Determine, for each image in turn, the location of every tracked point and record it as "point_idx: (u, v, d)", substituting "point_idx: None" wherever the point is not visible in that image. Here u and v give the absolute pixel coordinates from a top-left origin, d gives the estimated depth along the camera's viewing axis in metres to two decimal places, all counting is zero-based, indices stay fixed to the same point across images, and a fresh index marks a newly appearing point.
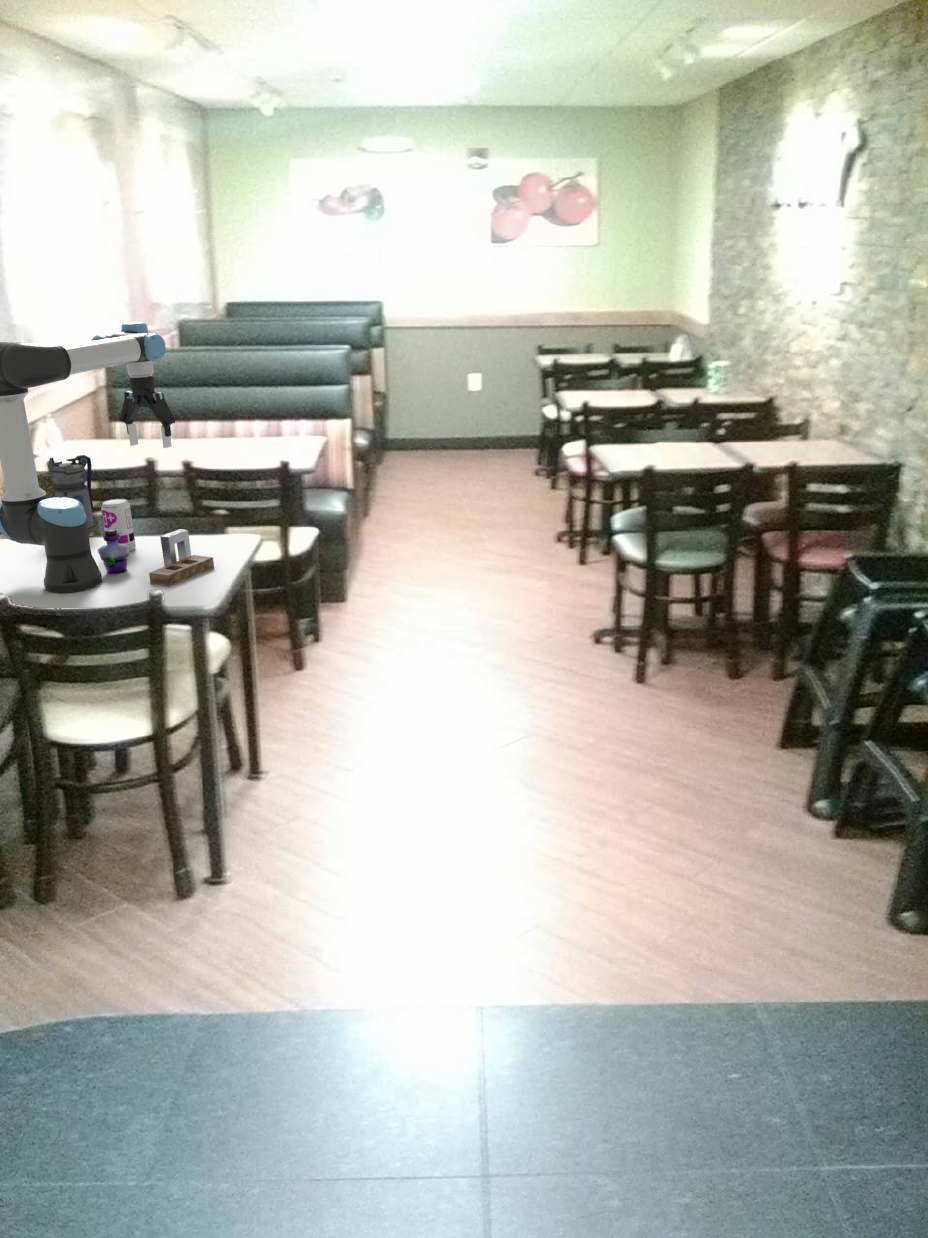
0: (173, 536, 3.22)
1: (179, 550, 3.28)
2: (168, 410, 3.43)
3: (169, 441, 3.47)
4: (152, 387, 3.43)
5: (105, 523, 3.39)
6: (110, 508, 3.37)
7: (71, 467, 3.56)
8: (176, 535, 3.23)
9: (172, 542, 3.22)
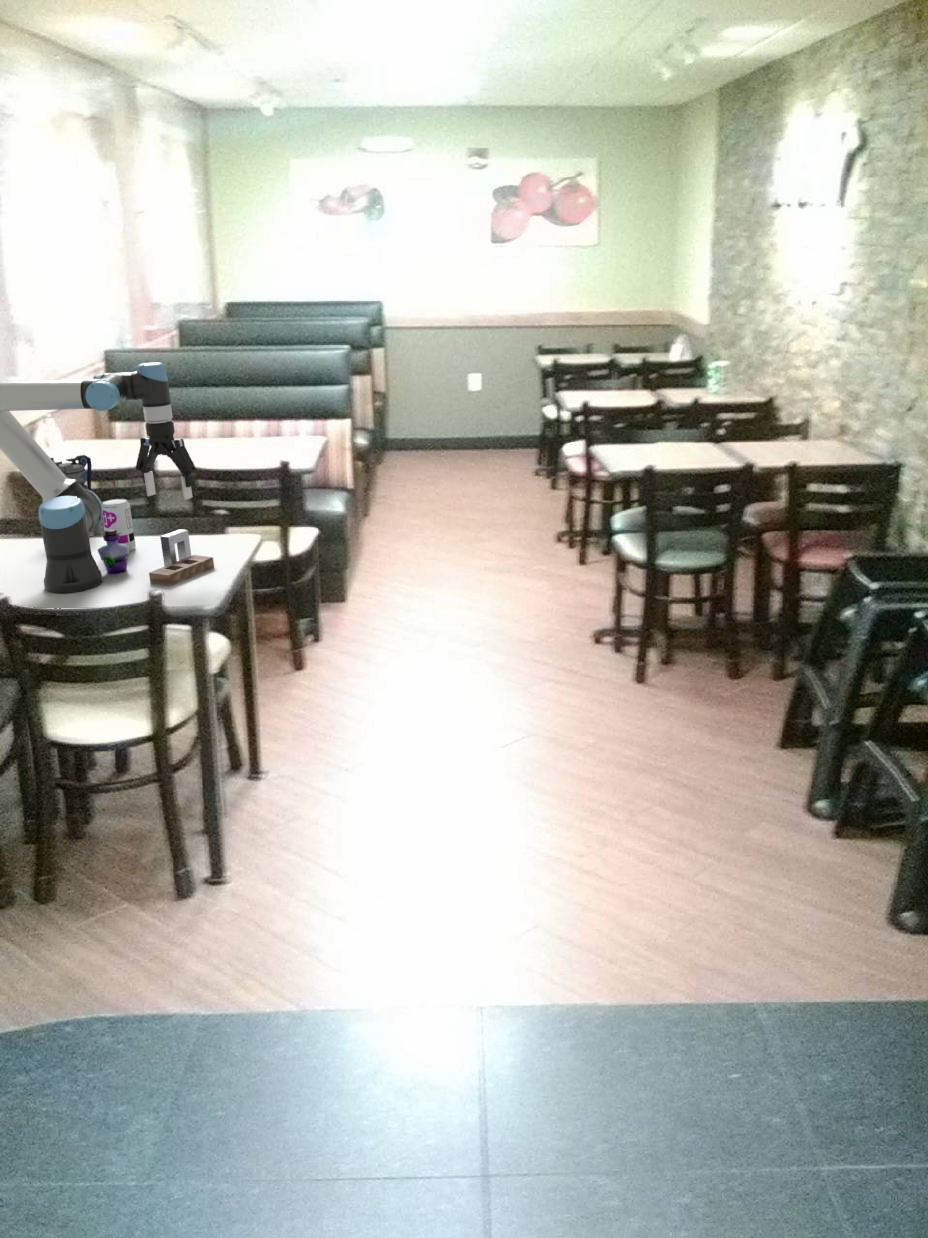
0: (173, 536, 3.22)
1: (179, 550, 3.28)
2: (189, 458, 3.13)
3: (190, 492, 3.17)
4: (171, 433, 3.13)
5: (105, 523, 3.39)
6: (110, 508, 3.37)
7: (71, 467, 3.56)
8: (176, 535, 3.23)
9: (172, 542, 3.22)
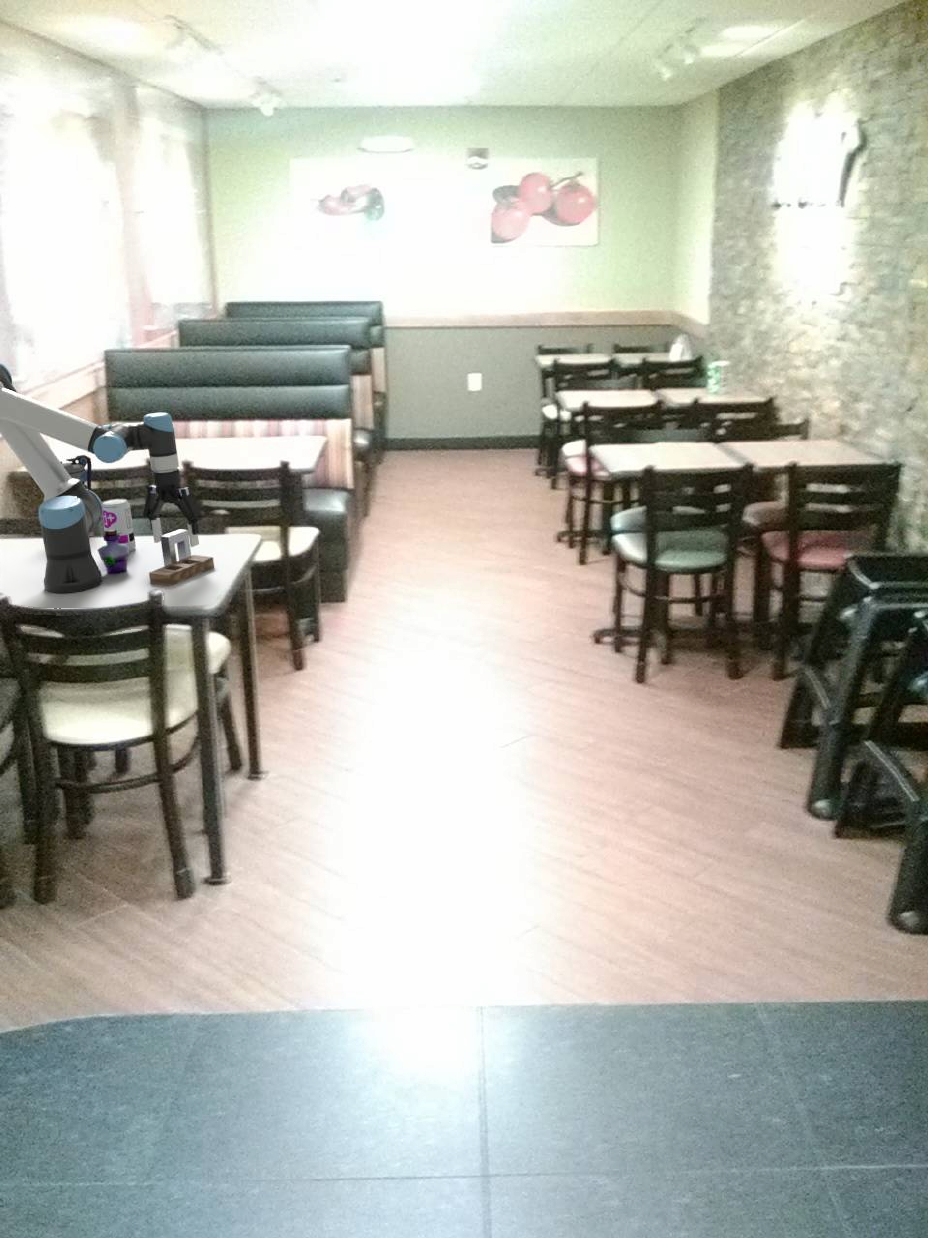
0: (173, 536, 3.22)
1: (179, 550, 3.28)
2: (195, 507, 3.18)
3: (196, 539, 3.21)
4: (177, 482, 3.17)
5: (105, 523, 3.39)
6: (110, 508, 3.37)
7: (71, 467, 3.56)
8: (176, 535, 3.23)
9: (172, 542, 3.22)
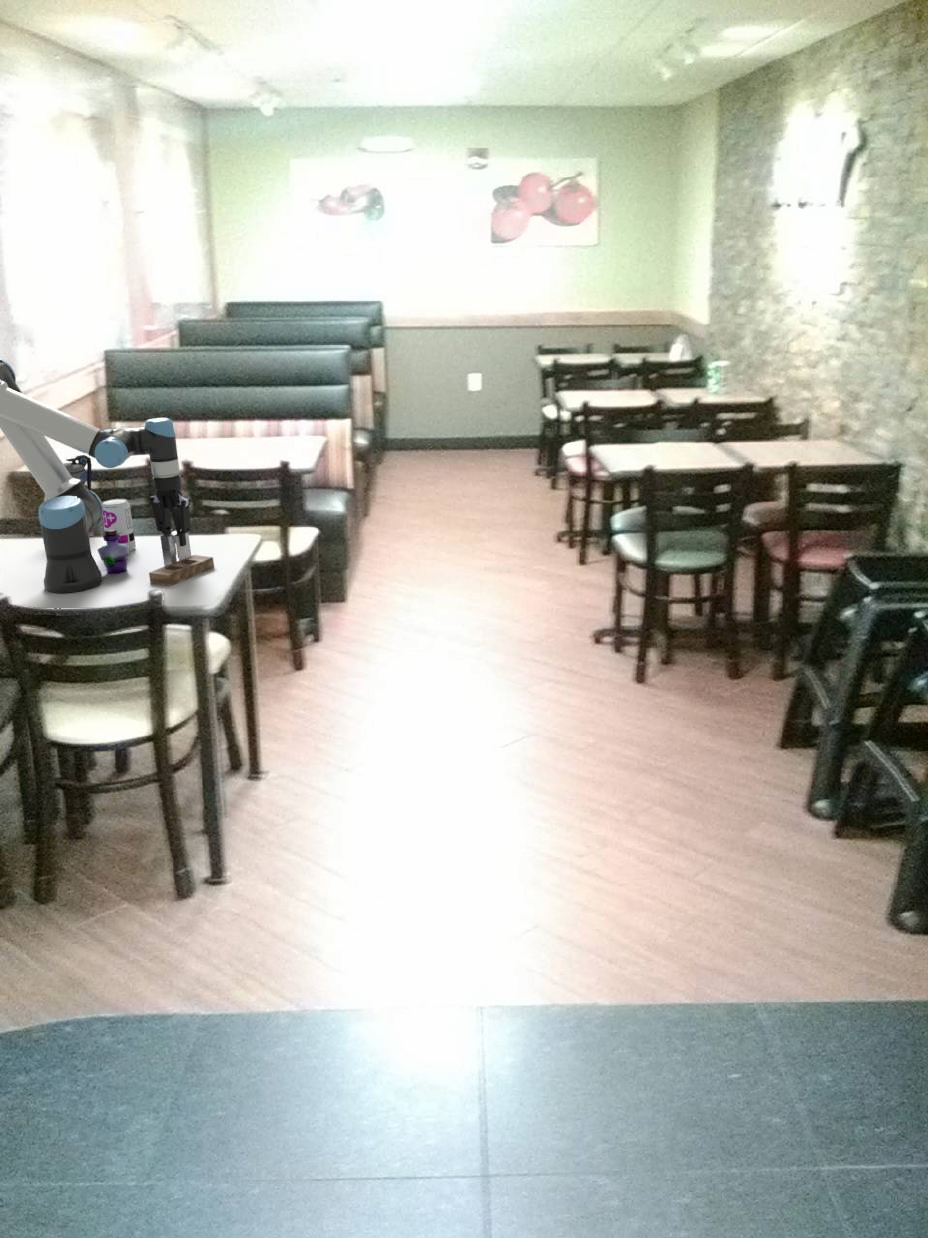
0: (173, 536, 3.22)
1: None
2: (188, 519, 3.20)
3: (184, 550, 3.25)
4: (178, 487, 3.18)
5: (105, 523, 3.39)
6: (110, 508, 3.37)
7: (71, 467, 3.56)
8: None
9: (172, 542, 3.22)
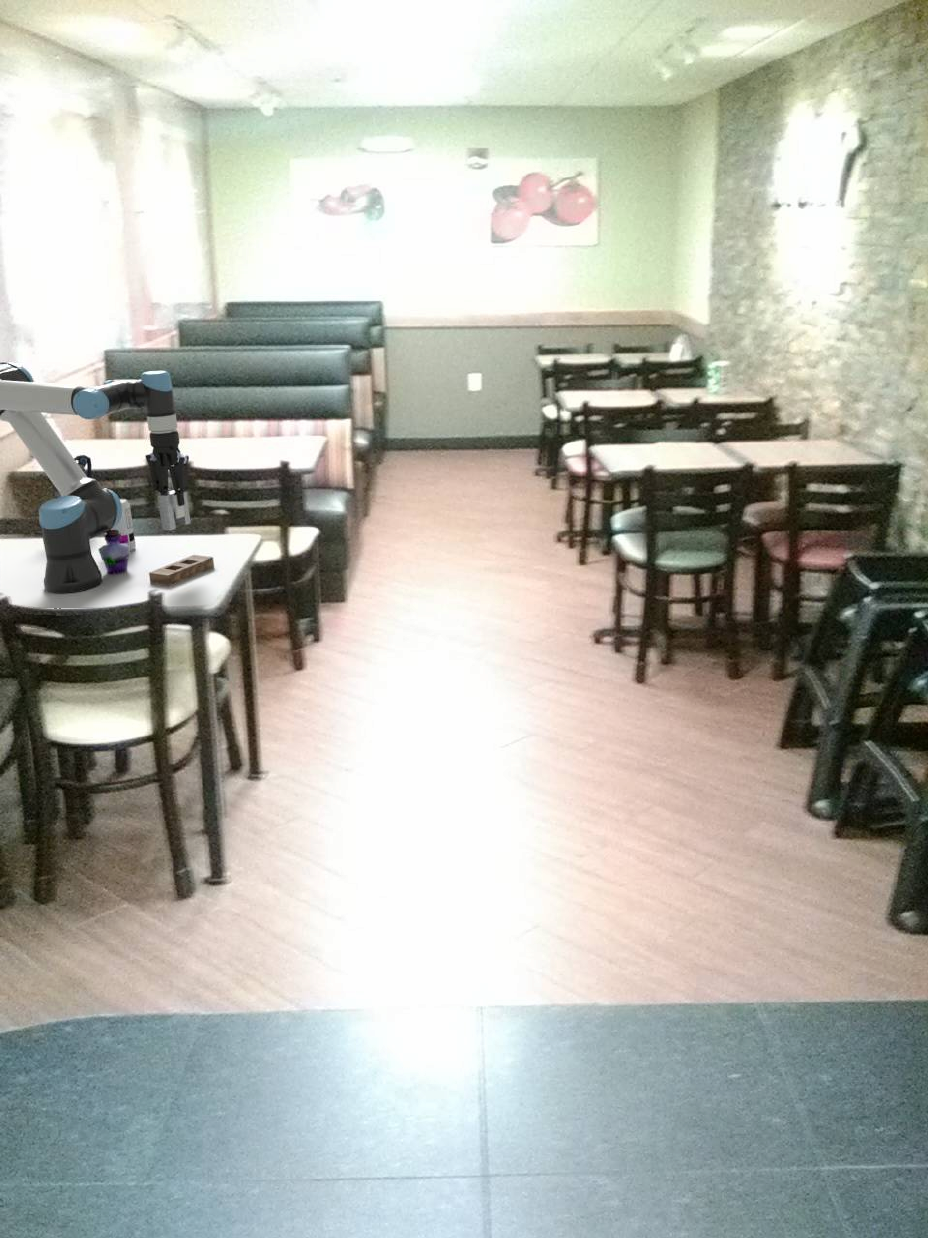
0: (171, 495, 3.08)
1: None
2: (186, 477, 3.07)
3: (182, 510, 3.12)
4: (176, 444, 3.04)
5: None
6: None
7: None
8: None
9: (170, 501, 3.08)
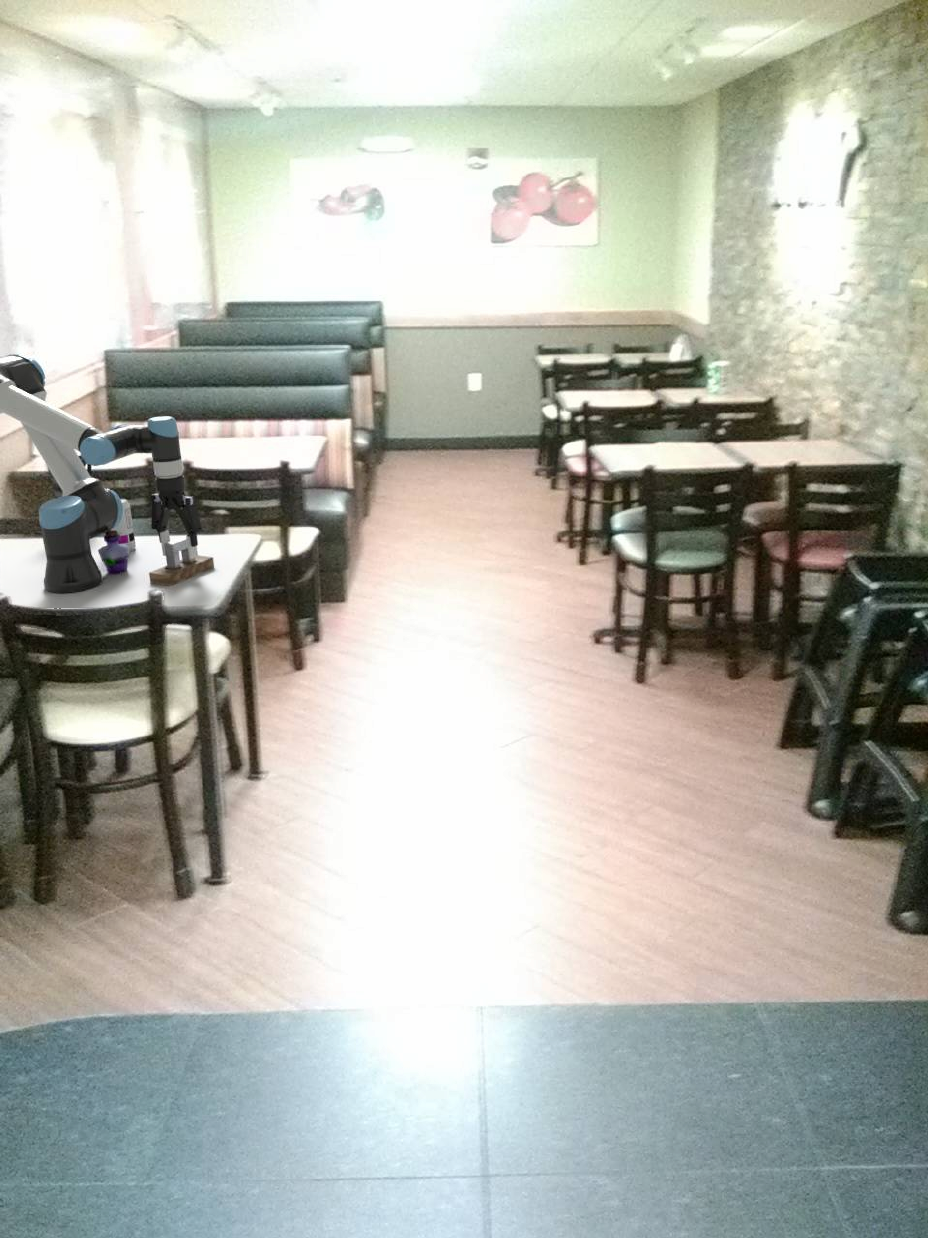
0: (177, 543, 3.12)
1: (183, 558, 3.18)
2: (196, 518, 3.09)
3: (195, 551, 3.13)
4: (182, 488, 3.08)
5: None
6: None
7: None
8: (180, 542, 3.13)
9: (176, 549, 3.12)
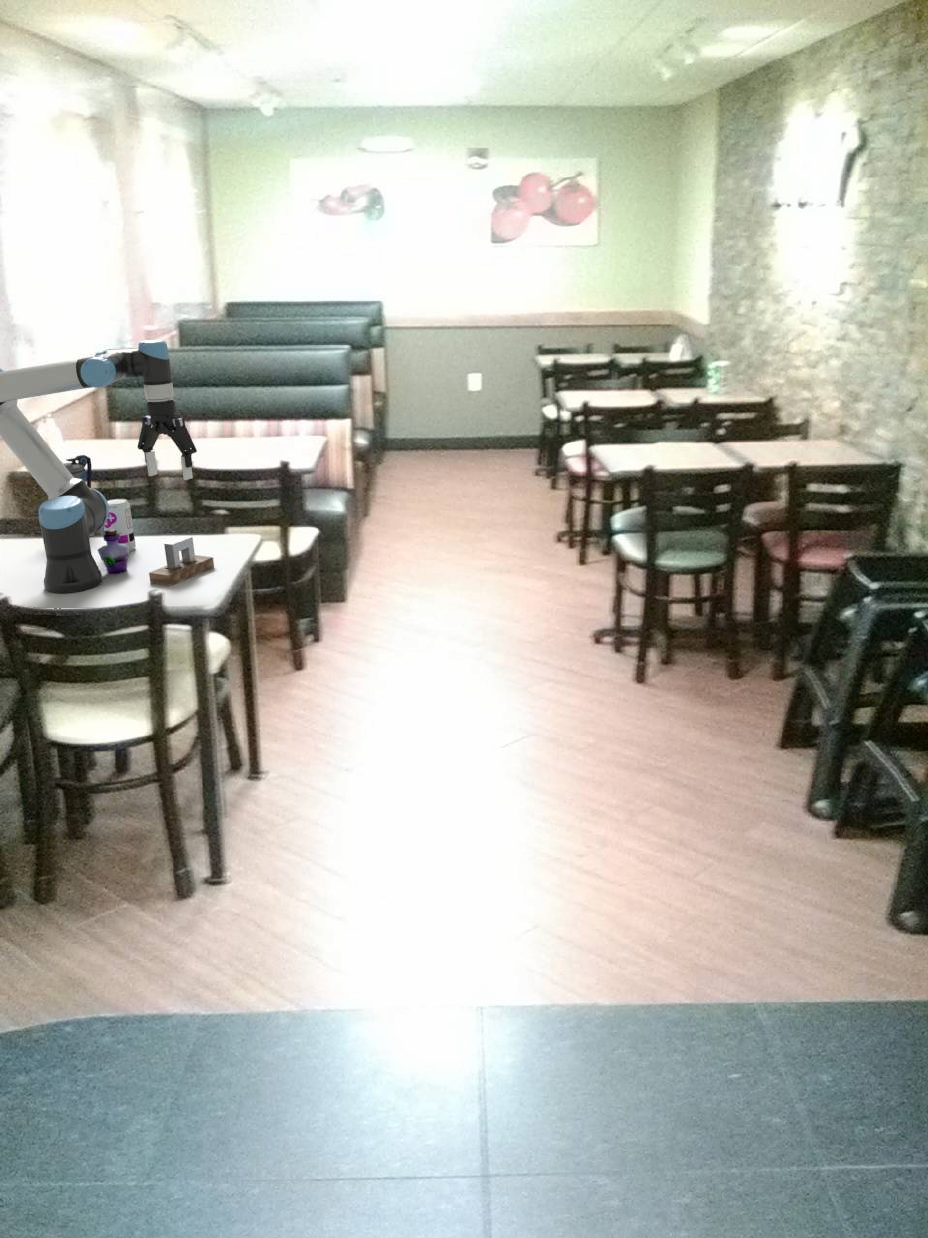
0: (177, 543, 3.12)
1: (183, 558, 3.18)
2: (189, 438, 3.08)
3: (190, 472, 3.12)
4: (172, 412, 3.08)
5: (105, 523, 3.39)
6: (110, 508, 3.37)
7: (71, 467, 3.56)
8: (180, 542, 3.13)
9: (176, 549, 3.12)
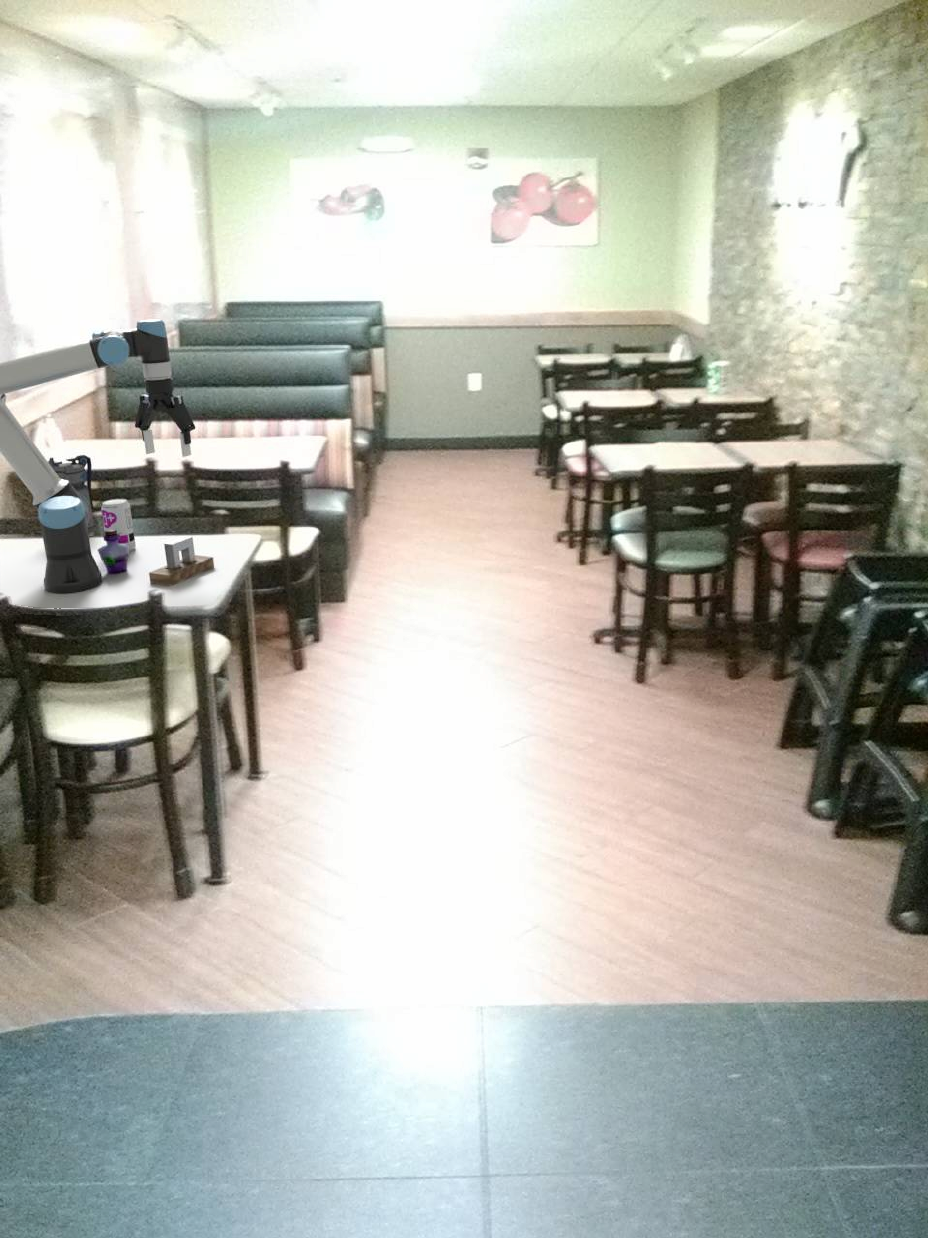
0: (177, 543, 3.12)
1: (183, 558, 3.18)
2: (188, 415, 3.15)
3: (188, 449, 3.19)
4: (170, 390, 3.15)
5: (105, 523, 3.39)
6: (110, 508, 3.37)
7: (71, 467, 3.56)
8: (180, 542, 3.13)
9: (176, 549, 3.12)
